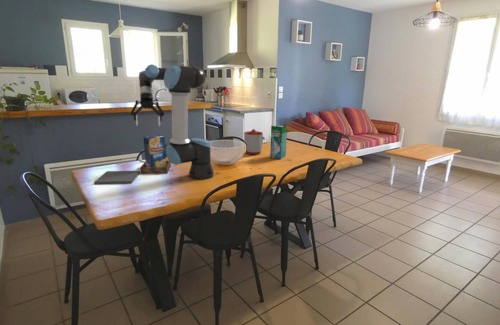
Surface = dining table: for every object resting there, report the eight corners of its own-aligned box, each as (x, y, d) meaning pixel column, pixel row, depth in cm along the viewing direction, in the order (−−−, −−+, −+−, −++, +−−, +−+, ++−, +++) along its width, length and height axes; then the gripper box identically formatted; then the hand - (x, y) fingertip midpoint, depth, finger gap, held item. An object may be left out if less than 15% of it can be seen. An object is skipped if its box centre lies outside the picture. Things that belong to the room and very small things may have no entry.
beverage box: (166, 169, 197) (164, 136, 191) (151, 172, 189) (149, 138, 183) (160, 167, 201) (158, 135, 195) (146, 170, 193) (143, 137, 187)
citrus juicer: (265, 155, 235) (265, 130, 229) (243, 155, 235) (243, 130, 230) (264, 151, 250) (265, 127, 244) (243, 150, 250) (244, 127, 245)
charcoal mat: (140, 172, 188) (139, 170, 188) (131, 183, 169) (131, 181, 168) (107, 173, 186) (106, 171, 185) (94, 184, 167) (94, 181, 166)
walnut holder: (171, 166, 203) (170, 160, 202) (167, 173, 188) (166, 167, 187) (146, 166, 202) (145, 160, 201) (140, 173, 186) (139, 167, 185)
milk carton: (285, 157, 232) (287, 125, 225) (280, 159, 225) (282, 126, 218) (275, 155, 237) (276, 124, 230) (270, 157, 230) (271, 125, 223)
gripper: (165, 98, 200) (167, 128, 195) (125, 96, 189) (126, 127, 185) (167, 93, 193) (169, 124, 189) (125, 90, 182) (127, 122, 178)
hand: (148, 125), depth 187 cm, fingers open, 13 cm apart
